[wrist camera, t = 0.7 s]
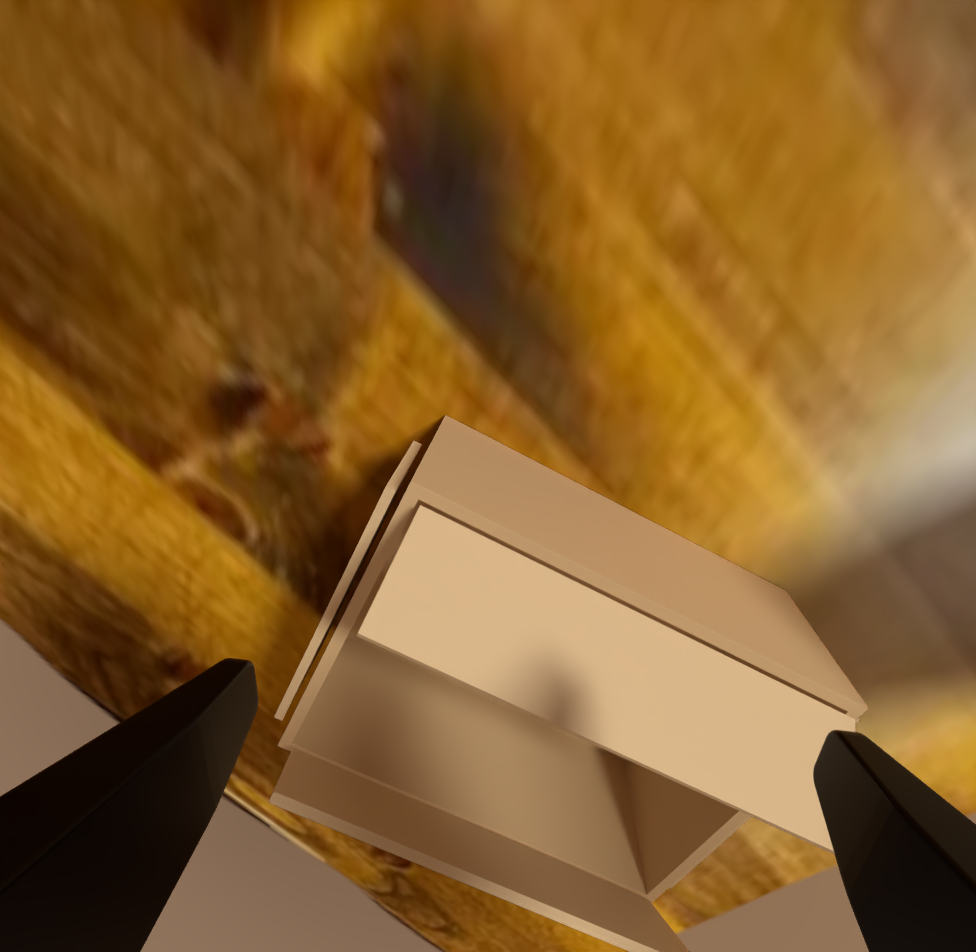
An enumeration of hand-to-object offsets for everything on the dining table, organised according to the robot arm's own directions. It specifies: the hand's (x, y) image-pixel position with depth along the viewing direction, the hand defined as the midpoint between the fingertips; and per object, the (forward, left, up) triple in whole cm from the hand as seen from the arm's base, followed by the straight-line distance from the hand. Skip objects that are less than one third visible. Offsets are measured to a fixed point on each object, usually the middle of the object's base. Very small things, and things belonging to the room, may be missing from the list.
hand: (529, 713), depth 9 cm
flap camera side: (-4, +10, -5) cm, 12 cm away
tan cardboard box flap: (-4, +2, -5) cm, 7 cm away
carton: (-4, +6, -13) cm, 15 cm away
